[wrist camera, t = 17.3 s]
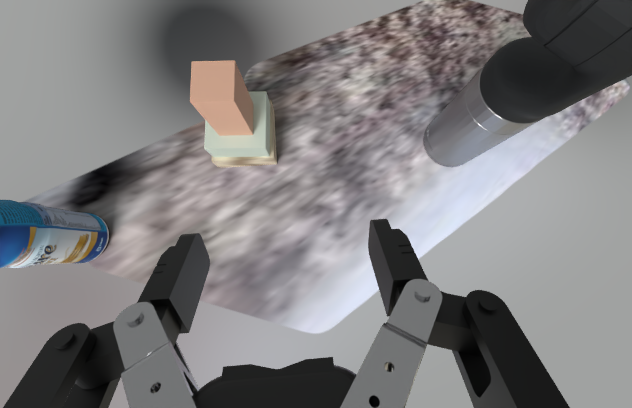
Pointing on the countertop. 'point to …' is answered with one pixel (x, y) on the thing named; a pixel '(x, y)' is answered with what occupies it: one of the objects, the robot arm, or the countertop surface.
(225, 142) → the tower top
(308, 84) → the countertop surface
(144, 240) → the countertop surface
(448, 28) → the countertop surface
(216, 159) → the tower base
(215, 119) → the square block
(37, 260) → the beverage bottle
